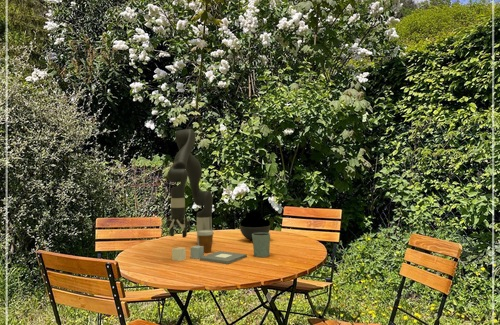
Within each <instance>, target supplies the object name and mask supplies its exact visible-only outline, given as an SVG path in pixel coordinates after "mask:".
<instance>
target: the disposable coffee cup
mask: <svg viewBox="0 0 500 325" xmlns="http://www.w3.org/2000/svg"><path fill="white" fill-rule="evenodd" d="M197 234H198V239H199V245H198V246H204V254H208V253H209V254H210V253H212V247H213V246H212V245H213V243H212V239H213V237H214V231H212V230H200V231H198V233H197V232H196V235H197ZM213 240H214V239H213Z"/></svg>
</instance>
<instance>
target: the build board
mask: <svg viewBox="0 0 500 325" xmlns="http://www.w3.org/2000/svg"><path fill="white" fill-rule="evenodd" d="M247 255H248V254H246V253H238V252H231V251H223V250H222V251H221V250H219V251H214V252H213V253H212V252H211V253H209V254H206V255H204V256H203V257H200V259H199V261H204V262H209V263H216V264H225V265H229V264H232V263H235V262H238V261H241V260H243V259H246V258H248V256H247Z"/></svg>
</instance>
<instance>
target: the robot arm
mask: <svg viewBox="0 0 500 325" xmlns="http://www.w3.org/2000/svg"><path fill="white" fill-rule="evenodd" d="M174 138H175V142H176V145H177V147H178V150H179V151H178V152H176V154H175V157H174V161H173V164H172V165H171V167H170V168H169V169H168V172H167V179H168V181H169V182H170V183H179V185H176V186H173V187H171V188H170V189H171V190H170V192H171V193H170V198H171V199H170V215H171V216H167V217H166V228H167V229H169V236H170V237H174V236H175V229H174V228H175V227H176V226H177V227H178V226H179V227H180V228H181V230H182V232H181V233H182V238H184V239H185V238H186V237H187V236H188V234H187V232H188V231H187V230H190V229H191V226H190V225H191V224H190V218H189V217H185V215H186V200H185V196H186V195H185V188H186V185H187V180H188V181H189V182H188V183H189V185H190V189H191V195H192V199H193V203H194V204H195V205H196V206H199V207H200V206H201V207H203V209H202V210H200V211H198V212H196V246H199V239H198V234H197V233H198V231H200V230H212V231H213V227H212V225H213V224H212V223H213V222H212V221H213V220H212V215H213V214H212V213H213V194H212V192H211V191H209V190H208V191H206V190H205V191H204V190H201V188H200V181H201V178H202V175H203V169H202V166H201V162H200V161H199V159H197V157H195V156H194V154H192V153H191V151H192V150H193V147H194V144H195V143H196V133H195V130H194V129H192V128H187V129H186V128H184V129H179V130H176V131H175V133H174ZM213 232H214V231H213ZM212 244H214V239H212Z"/></svg>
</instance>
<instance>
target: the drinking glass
mask: <svg viewBox="0 0 500 325" xmlns="http://www.w3.org/2000/svg"><path fill="white" fill-rule="evenodd" d="M252 239H253V241H252V247H253V249H252V251H253V256H254V257H255V258H269V257H270V254H271V252H270V249H271V248H270V247H271V244H270V243H271V242H270V241H271V233H270V232H269V233H253V234H252Z"/></svg>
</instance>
